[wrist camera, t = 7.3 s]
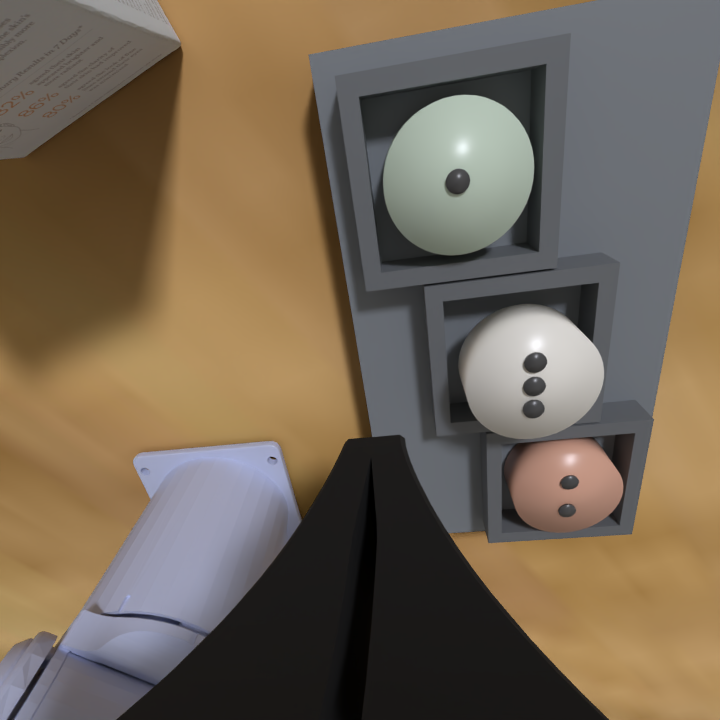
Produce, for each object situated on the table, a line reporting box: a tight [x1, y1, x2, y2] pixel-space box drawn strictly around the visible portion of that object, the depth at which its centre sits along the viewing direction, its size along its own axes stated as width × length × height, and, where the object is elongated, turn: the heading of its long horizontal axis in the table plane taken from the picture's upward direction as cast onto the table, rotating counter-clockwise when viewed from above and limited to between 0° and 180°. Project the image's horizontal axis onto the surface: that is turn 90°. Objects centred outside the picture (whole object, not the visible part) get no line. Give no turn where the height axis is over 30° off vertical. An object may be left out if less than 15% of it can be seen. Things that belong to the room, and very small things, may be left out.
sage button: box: [383, 95, 534, 255], centre depth 14 cm, size 4×4×2 cm
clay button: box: [504, 437, 623, 533], centre depth 19 cm, size 4×4×2 cm
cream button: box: [458, 304, 604, 439], centre depth 15 cm, size 4×4×2 cm
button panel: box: [309, 0, 720, 543], centre depth 18 cm, size 21×12×3 cm, turn 8°
